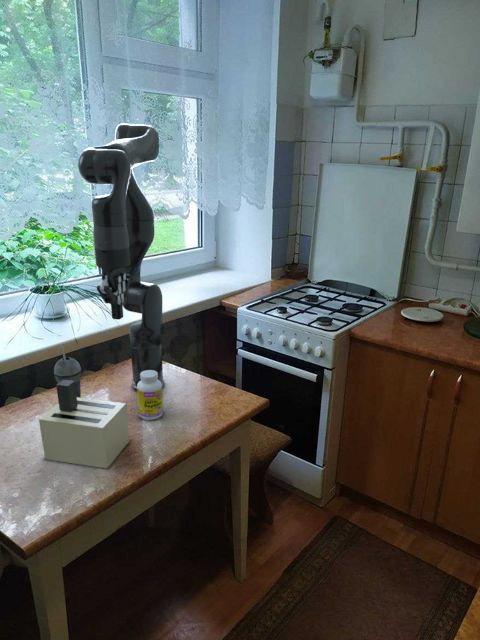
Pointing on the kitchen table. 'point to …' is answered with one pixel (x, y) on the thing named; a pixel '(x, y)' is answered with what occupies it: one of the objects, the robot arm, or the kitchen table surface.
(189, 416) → the kitchen table surface
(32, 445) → the kitchen table surface
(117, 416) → the toaster
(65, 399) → the slider
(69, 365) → the beverage cup
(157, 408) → the supplement bottle
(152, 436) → the kitchen table surface
